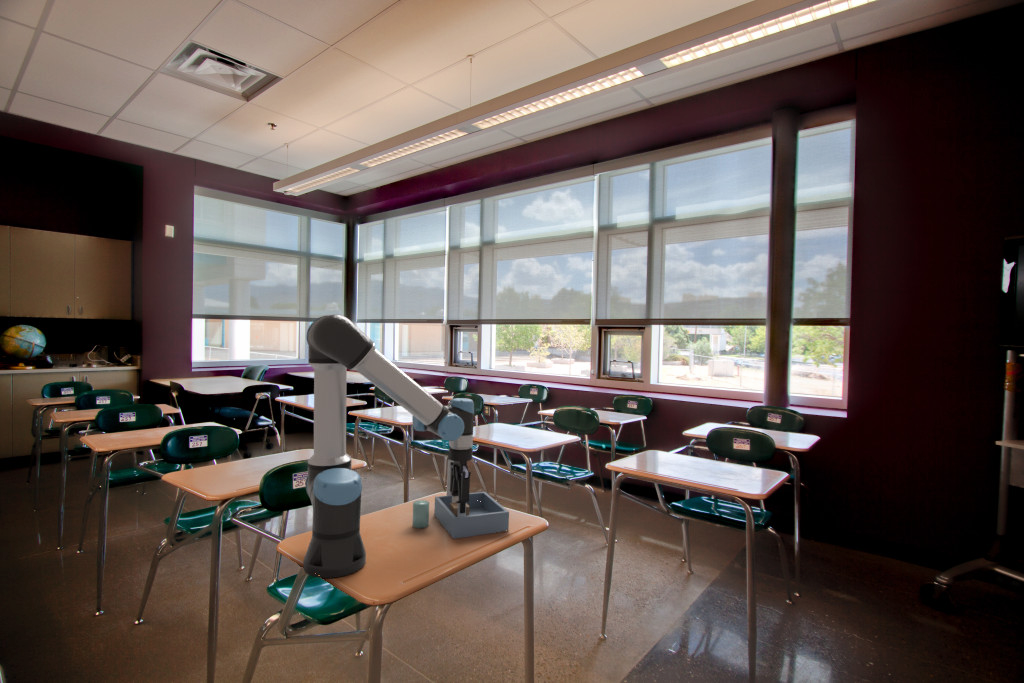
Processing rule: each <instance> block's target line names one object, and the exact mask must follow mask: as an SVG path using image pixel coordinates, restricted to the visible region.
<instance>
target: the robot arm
mask: <svg viewBox="0 0 1024 683" xmlns="http://www.w3.org/2000/svg"><path fill="white" fill-rule="evenodd" d="M305 338H306V342H307V343H306V344H307V345H308V365H309V366H310V367H312V369H313V370H314V371H313V374H314V375H313V377H314V378H313V381H314V383H313V384H314V385H313V387H314V388H313V454H312V456H311V457H310V458H308V459H307V475H306V480H305V490H306V494H307V496H308V497H309V500H310V503H311V506H312V524H311V525H312V526H311V528H312V531H311V539H310V542H309V545H308V547H307V550H306V552H305V556H304V557H303V571H304V573H306V575H309V576H312V577H315V578H319V579H333V578H340V577H345V576H348V575H352V574H353V573H357V572H358V571H360V570H361V569H362V568H363V567H365V565H366V563H367V562H366V560H367V558H366V557H367V553H366V548H365V546H364V541H363V539H362V538H363V537H362V535H361V510H362V509H361V507H362V506H361V505H362V491H363V485H362V484H363V483H362V477H361V475H360V474H359V473H358V472H357V471H355V470H354V469H352V456H351V455H350V454H348V453H347V381H348V380H347V377H348V375H347V372H348V371H356V372H358V374H360V375H361V376H363V377H364V378H365V379H367V381H369V382H370V383H371V384H372V385H374V386H375V387H377V388H378V389H379V390H381V391H382V392H383V394H384V393H385V395H387V396H388V397H389V398H390V399H392V400H393V401H394V402H395V403H397V404H398V405H399V406H400V407H402V408H403V409H405V411H407V412H408V413H409V414H410V415H412V421H411V422H412V426H413V429H414V430H415V431H417V432H427V431H428V432H431V433H432V434H434V435H437V436H438V437H440V438H441V439H442V440H444V441H448V446H449V448H448V452H449V459H450V460H452V461H454V462H450V465H451V474H450V492H452V493H451V495H452V503H456V502H457V517H461V516H466V502H469V493H470V488H471V486H470V484H471V483H470V482H471V474H472V472H471V470H469V466H468V462H469V461H471V460H473V451H474V450H473V444H474V441H473V440H474V439H475V436H474V418H475V403H474V401H473V399H471V398H465V397H461V398H460V397H459V398H458V397H457V398H452V399H451V400H450V404H448V405H444V404H442V403H441V402H440V401H439V400H437V399H436V398H435V397H434V396H433V395H432V394H431V393H429V392H428V391H427V390H426V389H424V388H423V387H422V386H421V385H420V384H419V383H418V382H416V381H415V380H414V379H413V378H411V377H410V376H409V375H408V374H407V373H406V372H404V371H403V370H402V369H401V368H399V366H397V365H396V364H395V363H393V362H392V361H391V360H390V359H389V358H387V357H386V356H385V355H384V354H382V352H380V351H379V350H378V349H377V348H376V343H375V341H373V340H372V339H371V338H369V336H367V334H366V333H364V332H363V331H362V330H361V329H360V328H359V327H358V326H357V325H356V324H355V323H354V322H353V321H352V320H351V319H349V318H348V317H346V316H344V315H340V314H329V315H328V314H327V315H322V316H319V317H318V318H316V319H314V320H313V322H311V324H310V325H309V326H308V328H307V331H306V337H305ZM347 369H348V371H347ZM315 573H316V574H315ZM318 575H320V576H318ZM322 577H323V578H322Z"/></svg>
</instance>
